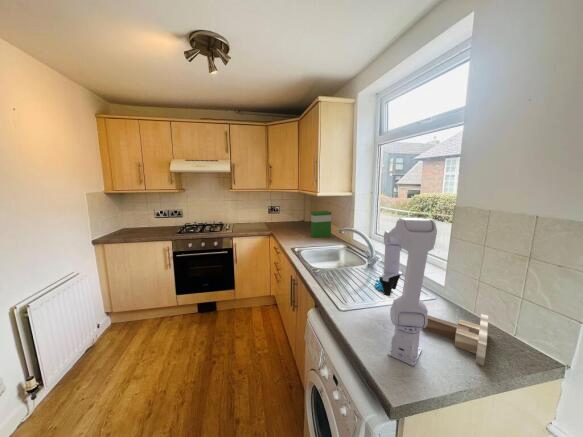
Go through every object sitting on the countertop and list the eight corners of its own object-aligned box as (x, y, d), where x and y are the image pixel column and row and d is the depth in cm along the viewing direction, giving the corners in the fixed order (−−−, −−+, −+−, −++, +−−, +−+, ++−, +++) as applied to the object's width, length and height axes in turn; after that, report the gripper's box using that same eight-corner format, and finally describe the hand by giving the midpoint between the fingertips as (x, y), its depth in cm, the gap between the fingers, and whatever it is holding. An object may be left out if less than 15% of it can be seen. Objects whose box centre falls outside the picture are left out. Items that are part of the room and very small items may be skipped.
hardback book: (327, 234, 243) (327, 210, 239) (330, 236, 236) (331, 211, 232) (310, 236, 238) (311, 211, 234) (313, 238, 231) (314, 212, 227)
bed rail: (467, 345, 83) (469, 331, 83) (421, 329, 92) (422, 316, 91) (468, 341, 85) (469, 328, 84) (423, 325, 94) (424, 313, 93)
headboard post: (483, 366, 74) (486, 345, 73) (452, 354, 79) (454, 334, 78) (485, 333, 89) (488, 315, 88) (459, 325, 94) (461, 308, 93)
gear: (371, 281, 130) (385, 269, 128) (378, 288, 131) (392, 276, 129) (379, 294, 119) (395, 281, 117) (386, 301, 121) (402, 288, 119)
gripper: (397, 267, 91) (394, 301, 93) (407, 257, 102) (404, 288, 105) (378, 263, 96) (376, 296, 98) (389, 254, 107) (387, 284, 109)
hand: (389, 291), depth 102 cm, fingers open, 7 cm apart
